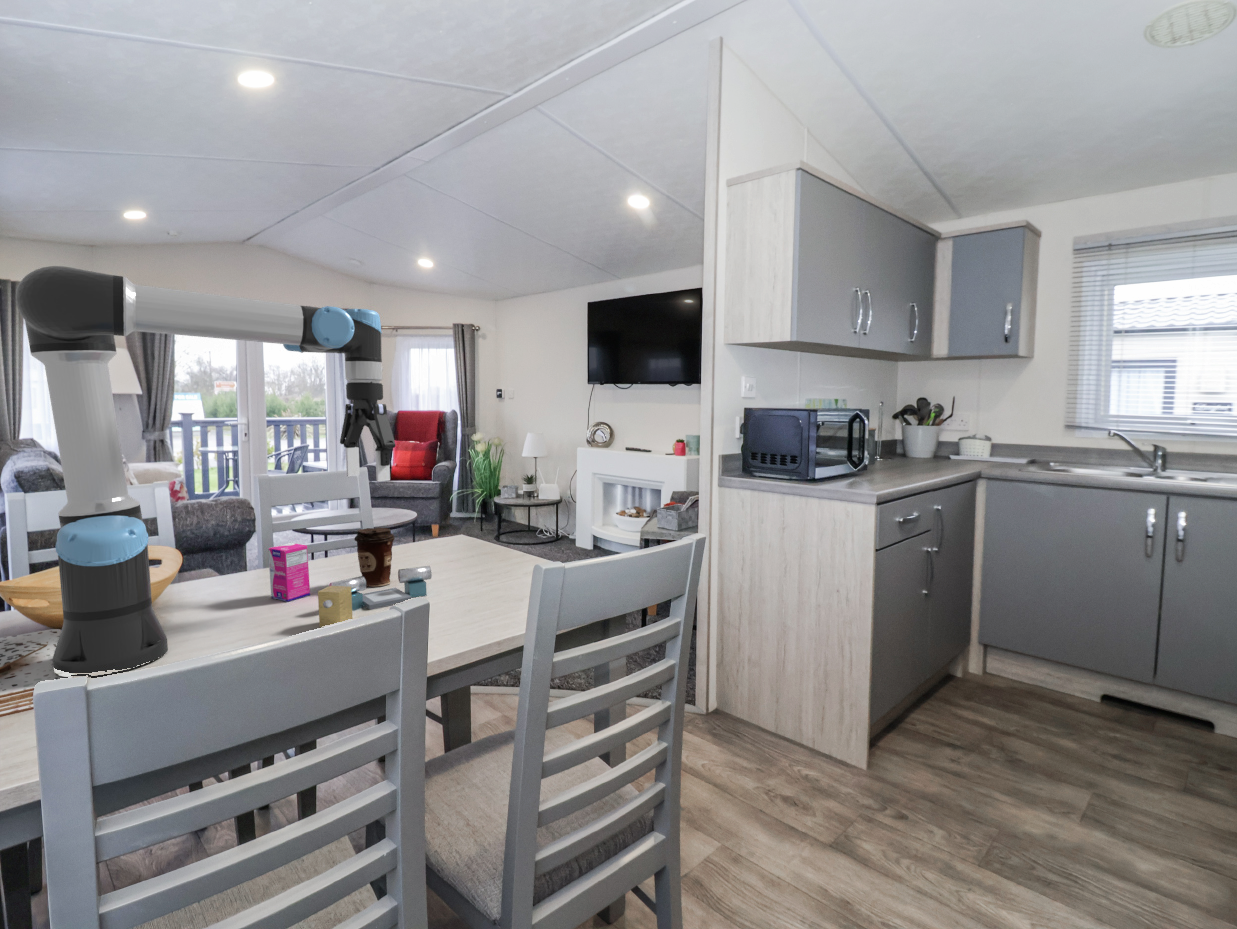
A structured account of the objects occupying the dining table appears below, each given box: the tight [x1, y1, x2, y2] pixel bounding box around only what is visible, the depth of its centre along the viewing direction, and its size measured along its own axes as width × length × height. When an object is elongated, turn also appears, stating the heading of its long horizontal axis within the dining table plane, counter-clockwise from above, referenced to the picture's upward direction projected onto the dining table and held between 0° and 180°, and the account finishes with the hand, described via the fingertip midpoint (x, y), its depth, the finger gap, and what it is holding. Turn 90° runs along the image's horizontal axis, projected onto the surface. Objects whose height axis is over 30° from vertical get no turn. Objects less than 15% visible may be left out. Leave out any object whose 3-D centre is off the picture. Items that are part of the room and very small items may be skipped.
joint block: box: [317, 585, 353, 628], centre depth 126 cm, size 6×4×7 cm
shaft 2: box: [397, 565, 433, 599], centre depth 146 cm, size 7×5×6 cm
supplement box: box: [267, 542, 311, 603], centre depth 144 cm, size 6×6×12 cm
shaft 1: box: [328, 575, 367, 611], centre depth 137 cm, size 7×5×6 cm
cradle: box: [362, 587, 413, 611], centre depth 142 cm, size 9×9×1 cm
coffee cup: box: [354, 527, 395, 588], centre depth 154 cm, size 9×8×13 cm
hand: (367, 478), depth 145 cm, fingers open, 13 cm apart
